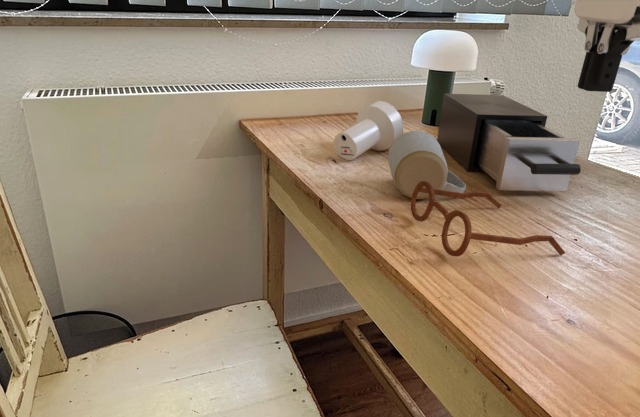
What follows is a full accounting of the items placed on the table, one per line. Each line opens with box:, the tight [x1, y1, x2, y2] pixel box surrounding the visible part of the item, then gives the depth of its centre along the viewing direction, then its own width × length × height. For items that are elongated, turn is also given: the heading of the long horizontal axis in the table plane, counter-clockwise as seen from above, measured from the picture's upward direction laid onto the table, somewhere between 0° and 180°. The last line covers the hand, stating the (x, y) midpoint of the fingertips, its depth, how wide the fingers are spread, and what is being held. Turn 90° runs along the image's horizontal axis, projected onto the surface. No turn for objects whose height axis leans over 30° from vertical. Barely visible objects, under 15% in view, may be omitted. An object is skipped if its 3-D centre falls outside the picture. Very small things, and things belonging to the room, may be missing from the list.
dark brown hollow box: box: [436, 93, 548, 173], centre depth 83 cm, size 16×11×9 cm
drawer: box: [474, 120, 581, 192], centre depth 71 cm, size 19×10×7 cm, turn 5°
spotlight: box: [333, 100, 404, 161], centre depth 82 cm, size 8×11×8 cm
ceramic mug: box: [387, 130, 467, 200], centre depth 67 cm, size 11×8×8 cm
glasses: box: [410, 181, 566, 258], centre depth 56 cm, size 13×13×5 cm
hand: (594, 89), depth 55 cm, fingers closed
